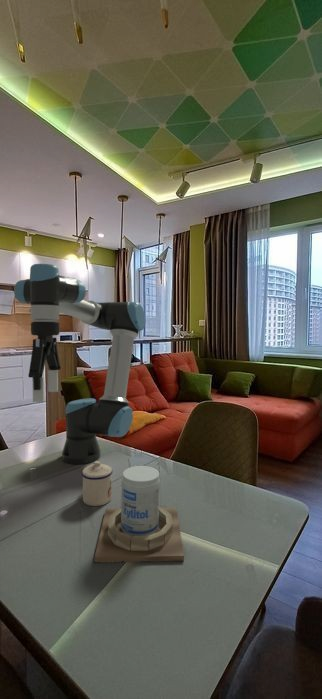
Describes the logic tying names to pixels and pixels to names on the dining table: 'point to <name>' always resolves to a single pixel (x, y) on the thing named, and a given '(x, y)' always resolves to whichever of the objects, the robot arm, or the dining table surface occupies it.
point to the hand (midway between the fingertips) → (46, 396)
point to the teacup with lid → (97, 484)
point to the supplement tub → (140, 501)
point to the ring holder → (140, 540)
